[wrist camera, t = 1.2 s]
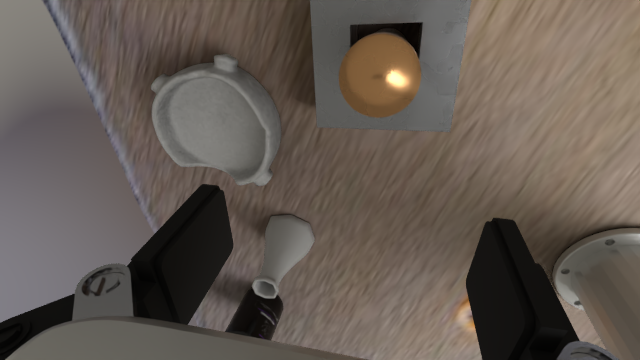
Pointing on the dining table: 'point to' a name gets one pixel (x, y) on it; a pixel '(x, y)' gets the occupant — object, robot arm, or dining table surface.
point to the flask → (282, 251)
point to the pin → (380, 74)
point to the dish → (217, 120)
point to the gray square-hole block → (433, 52)
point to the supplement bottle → (256, 316)
